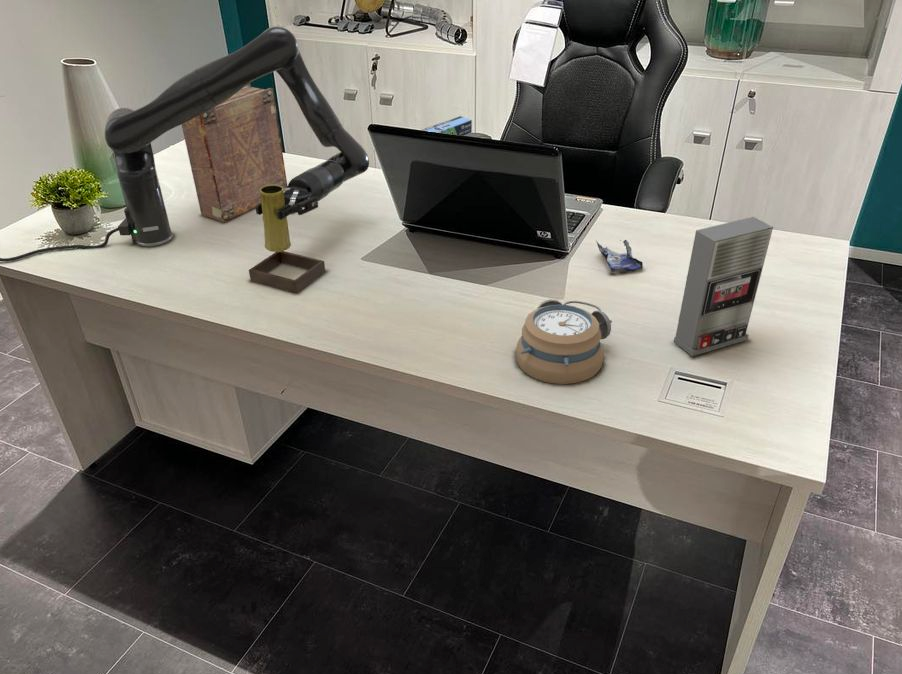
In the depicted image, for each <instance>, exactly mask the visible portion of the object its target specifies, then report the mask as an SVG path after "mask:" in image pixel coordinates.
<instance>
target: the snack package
mask: <svg viewBox="0 0 902 674" xmlns="http://www.w3.org/2000/svg"><path fill="white" fill-rule="evenodd" d="M619 241H620V242H621V241H622V240H621V239H619ZM595 242H596V245H597V247H598V251H599V252H600V254H601V255H602V257H603V259H604V260H605V262H606V264H607V265H608V267H609V269H610V271H611V272H614V271H618V270H624V271H625V272H623V273H629V272H636V271H638V270H642V269H644V263H643V261H641V260H639V259H637V258H635V257H633V254H632V247H631V246H630V242H629V241H628V240H627V239H625V240H623V242H622V243H623V244H624V245H623V246H625V250H626V253H619V252H615V251H612V250H611V249H610V248H608V247H607V246H606V247H603V246H602V244H600V243H599V241H598V240H595ZM610 274H611V275H612V274H613V273H610Z"/></svg>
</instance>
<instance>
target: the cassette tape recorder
mask: <svg viewBox="0 0 902 674" xmlns="http://www.w3.org/2000/svg"><path fill="white" fill-rule="evenodd" d="M773 229H774V226H772V225H770V224H768V223H766V222H765V221H763V220H760V219H758V218H756V217H754V216H751V217H747V218H743V219H739V220H734V221H730V222H726V223H721V224H718V225H713V226H709V227H704V228H700V229H696V230H695V233H694V239H693V244H692V249H691V254H690V259H689V265H688V270H687V275H686V280H685V285H684V291H683V295H682V296H683V297H682V302H681V306H680V312H679V316H678V322H677V327H676V332H675V336H674V338H673V343H674V344H675V345H677V346H678V347H680V348H681V349H682V350H684V351H685V352H686V353H687V354H688V355H690V356H691V357H695V356H697V355H698V356H699V355H701V354H705V353H708V352H712V351H714V350H718V349H721V348H724V347H727V346H731V345H735V344H739V343H741V342H746V341H748V339H749V334H747V331H748V328H749V327H748V326H749V323H750V320H751V315H752V311H753V308H754V304H755V300H756V297H757V296H756V295H757V292H758V289H759V288H758V287H759V284H760V280H761V278H762V277H761V276H762V272H763V268H764V264H765V261H766V256H767V253H768V249H769V245H770V241H771V238H772V233H773Z"/></svg>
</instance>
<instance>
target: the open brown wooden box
mask: <svg viewBox="0 0 902 674" xmlns="http://www.w3.org/2000/svg"><path fill="white" fill-rule="evenodd" d="M280 264H285V265H289V266H294V267H298V268H302V269H305V270H306V271H305V272H303V273H302V274H301V275H299V276H298V277H297V278H295V279H292V278H288V277H284V276H281V275H277V274H272V273H269V272H270V271H272V269H275V267H277V266H279V265H280ZM326 271H327V270H326V265H325V260H322V259H318V258H314V257H310V256H306V255H303V254H302V255H301V254H298V253H293V252H289V251H286V250H285V251H281V252H273V253H272V254H271V255H269V256H268V257H266V258H264V259H263V260H262V261H260V262H258V263H256V264H255V265H254V266H252V267H251V268H250V269H248V273H249V280H250V282H253V283H256V284H260V285H264V286H267V287H272V288H274V289H279V290H283V291H285V292H290V293H294V294H298V293H300V292H301V291H303V290H304V289H305V288H306V287H308V286H309V285H310V284H311V283H313V282H314V281H315V280H317V279H318V278H320V277H321V276H322V275H323V274H325V273H326Z"/></svg>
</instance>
